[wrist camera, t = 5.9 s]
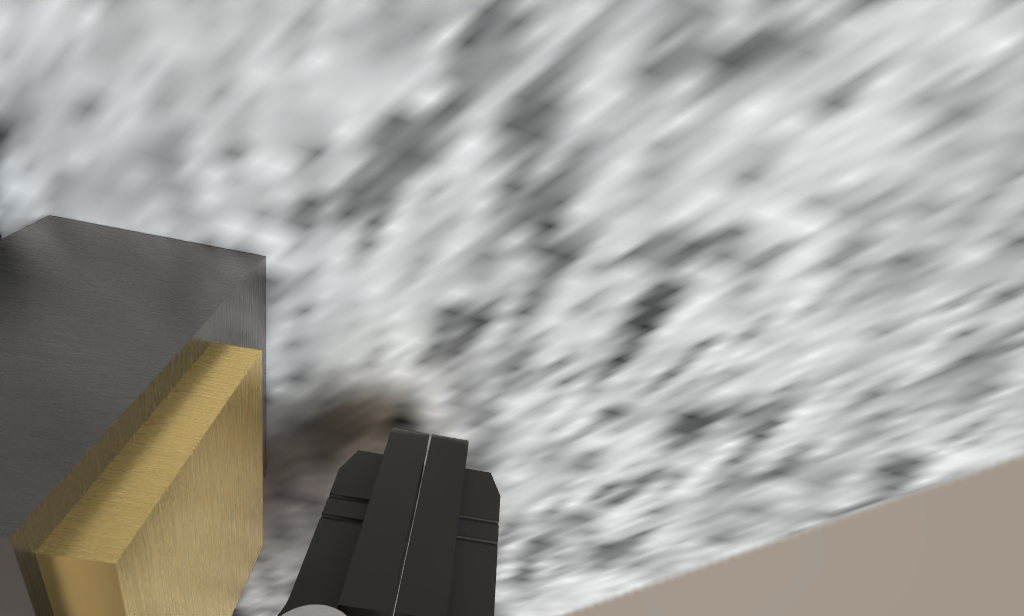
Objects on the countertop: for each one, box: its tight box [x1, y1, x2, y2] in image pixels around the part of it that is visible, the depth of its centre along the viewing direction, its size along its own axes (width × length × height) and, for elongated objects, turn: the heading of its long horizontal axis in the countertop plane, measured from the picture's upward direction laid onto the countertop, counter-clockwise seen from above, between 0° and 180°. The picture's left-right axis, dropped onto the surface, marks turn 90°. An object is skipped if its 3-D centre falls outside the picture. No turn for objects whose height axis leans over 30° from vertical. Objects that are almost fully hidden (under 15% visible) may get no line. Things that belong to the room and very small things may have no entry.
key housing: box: [0, 216, 266, 616], centre depth 10 cm, size 6×4×6 cm, turn 168°
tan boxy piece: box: [35, 342, 263, 616], centre depth 9 cm, size 5×6×4 cm
